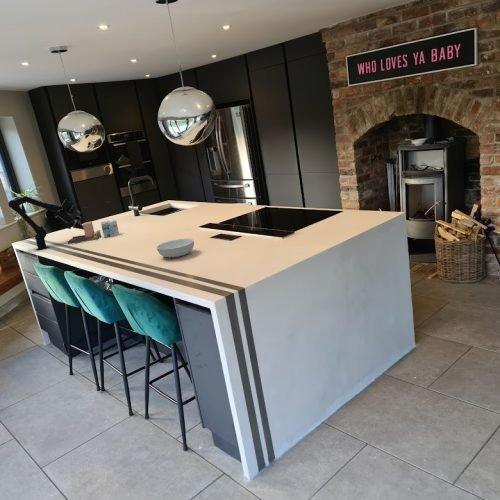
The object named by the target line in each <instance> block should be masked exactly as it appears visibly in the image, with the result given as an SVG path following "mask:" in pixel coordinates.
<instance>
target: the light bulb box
mask: <svg viewBox="0 0 500 500" xmlns="http://www.w3.org/2000/svg"><path fill="white" fill-rule="evenodd" d="M100 225H101V230H102V234H103V238H104V239H105V238H112V237H118V235H120V231H119V227H118V223H117V219H111V220H106V221H102V222H101V223H100Z"/></svg>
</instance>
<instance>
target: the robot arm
mask: <svg viewBox="0 0 500 500" xmlns="http://www.w3.org/2000/svg"><path fill="white" fill-rule="evenodd" d="M26 203H28V204H31V205H34V206H37V207H40V208H42V209H44V210H47V211H48V212H50V213H53V215H54V218H56V219H57V218H58V217H59V219H61V220H63V222H64V223H67V225H66V227H67V229H68V230H71V229H72V228H73V229H78V230H83V231H84V228H83V224H82V223H81V219H82V216H81V211H80V210H79V209H75V210H73V211H74V212H73V213H71V212H70V211H71V210H72V208H73V207H74V206H75V204H74V203H72V202H71V201H70V200H67V199H65V200H64V201H63V202H62V204H59V205H58V204H54V203H49V202H43V201H41V200H38V199H35V198H33V197H29V196H27V195H23V196H22V197H19V198H17V199H10V200H9V201H8V203H7V204H8V207H9V208H10V209H12V210H13V211H14V212H15V213H17V214H18V215H19V216H20V217H21V218H22V219H23V220H24V221H25V222H27V224H28V226H30V227H31V228H32V229H33V231H34V232H35V233H36V234H35V236H34V239H35V243H36V247H37V248H36V249H35V250H36V251H40V250H45V249H47V248H49V246H48V245H47V243H46V239H45V238H46V237H47V231H46V229H45V228H44V227H43V225H41V224H40V225H38V224H37V223H36V221H34V220H33V219H32V218H31V217H30V216H29V215H28V214H27V213H26V212H25V211H24V209H22V207H21V205H23V204H26ZM68 211H69V212H70V213H68Z"/></svg>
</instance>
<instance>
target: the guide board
mask: <svg viewBox="0 0 500 500" xmlns="http://www.w3.org/2000/svg"><path fill="white" fill-rule="evenodd" d="M101 237H102V233H101V230H100V229H97V230H96V231H94V234H93V236H91V237H85V234H84V235H76V236H72V238H70V239H69V240H67V242H66V243H67V244H68V245H69V244H70V245H71V244H76V243H83V242H89V241H95V240H96V241H97V240H99V239H100V238H101Z"/></svg>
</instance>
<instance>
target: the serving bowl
mask: <svg viewBox="0 0 500 500" xmlns="http://www.w3.org/2000/svg"><path fill="white" fill-rule="evenodd" d="M194 246H195V240H194V239H192V238H178V239H173V240H168V241H164V242H162V243H160V244H158V245H157V246H156V251H157V252H158V254H159V255H161V257H165V258H171V257H172V259H175V258H174V257H176V258H180V256H181V257H183V256H185V255H187V254H189V253H190V252H191V251H193V248H194Z"/></svg>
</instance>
